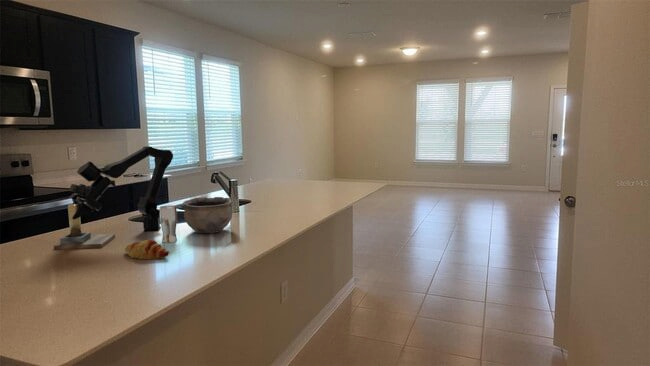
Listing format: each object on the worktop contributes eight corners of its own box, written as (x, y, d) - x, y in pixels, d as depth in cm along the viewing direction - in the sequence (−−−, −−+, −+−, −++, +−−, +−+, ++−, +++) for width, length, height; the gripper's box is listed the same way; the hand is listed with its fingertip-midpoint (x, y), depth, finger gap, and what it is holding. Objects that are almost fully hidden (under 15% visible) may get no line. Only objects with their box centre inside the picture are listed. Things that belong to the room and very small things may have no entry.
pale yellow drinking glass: (83, 232, 173) (81, 204, 171) (75, 234, 169) (72, 205, 168) (76, 231, 174) (74, 203, 173) (67, 233, 171) (65, 205, 169)
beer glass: (180, 239, 182) (179, 205, 180) (173, 243, 175) (172, 208, 173) (165, 238, 182) (164, 205, 180) (157, 243, 175) (156, 208, 173)
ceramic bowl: (239, 227, 204) (238, 197, 202) (224, 238, 183) (223, 205, 181) (195, 225, 206) (194, 196, 204) (175, 237, 185) (174, 204, 183)
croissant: (120, 263, 159) (110, 248, 155) (137, 245, 167) (128, 230, 163) (164, 269, 152) (155, 253, 148) (180, 250, 160) (172, 234, 155)
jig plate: (115, 237, 184) (114, 228, 184) (102, 247, 168) (101, 237, 168) (71, 238, 181) (70, 229, 181) (53, 249, 165) (53, 239, 165)
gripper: (73, 174, 177) (45, 203, 171) (91, 178, 166) (62, 209, 159) (94, 190, 185) (68, 219, 178) (112, 195, 173) (86, 225, 166)
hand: (71, 218), depth 170 cm, fingers closed on pale yellow drinking glass, 4 cm apart
